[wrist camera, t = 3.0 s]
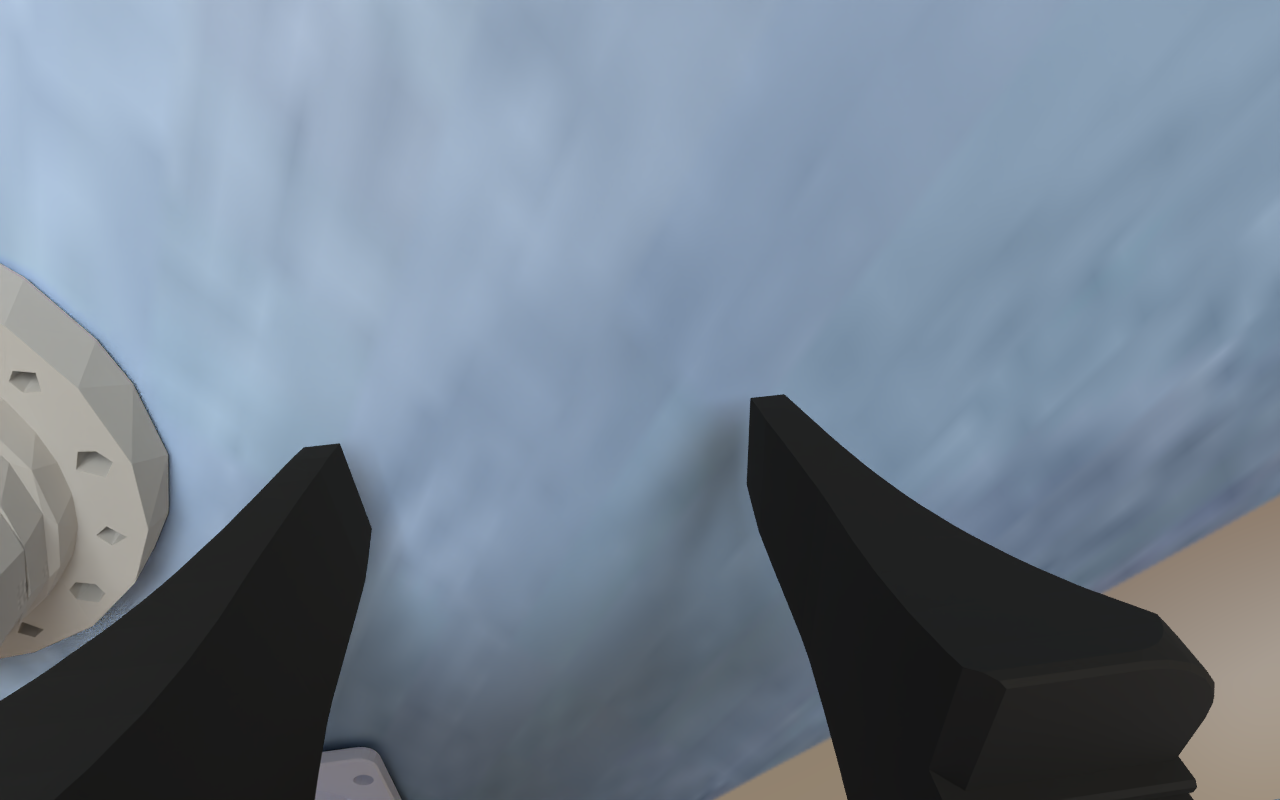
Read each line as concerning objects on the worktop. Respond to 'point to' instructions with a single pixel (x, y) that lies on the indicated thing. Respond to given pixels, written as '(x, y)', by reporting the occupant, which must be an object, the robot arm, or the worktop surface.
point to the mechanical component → (68, 474)
